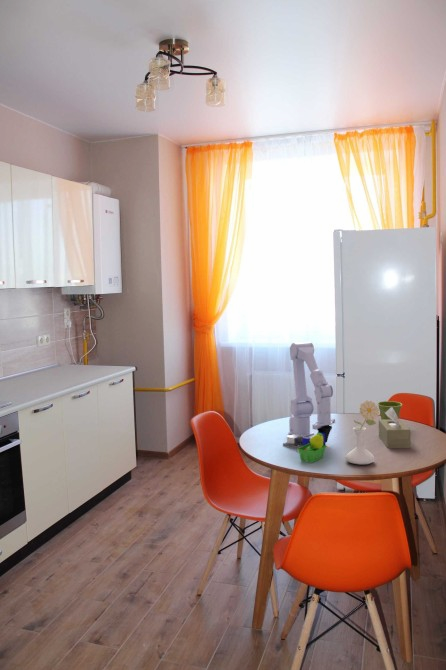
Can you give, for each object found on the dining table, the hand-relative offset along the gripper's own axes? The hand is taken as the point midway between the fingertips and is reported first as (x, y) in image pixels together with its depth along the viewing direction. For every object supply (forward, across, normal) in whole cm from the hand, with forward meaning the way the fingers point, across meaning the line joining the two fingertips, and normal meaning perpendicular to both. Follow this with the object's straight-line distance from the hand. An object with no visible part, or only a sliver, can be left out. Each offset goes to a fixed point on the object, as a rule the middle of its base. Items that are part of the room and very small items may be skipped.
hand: (324, 442), depth 242 cm
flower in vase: (+2, -10, -25) cm, 27 cm away
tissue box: (+2, +24, -21) cm, 32 cm away
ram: (+1, -8, +10) cm, 13 cm away
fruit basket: (+2, -19, -8) cm, 21 cm away
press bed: (+1, -8, +5) cm, 10 cm away
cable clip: (+1, -8, 0) cm, 8 cm away
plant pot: (+2, +47, -6) cm, 47 cm away
